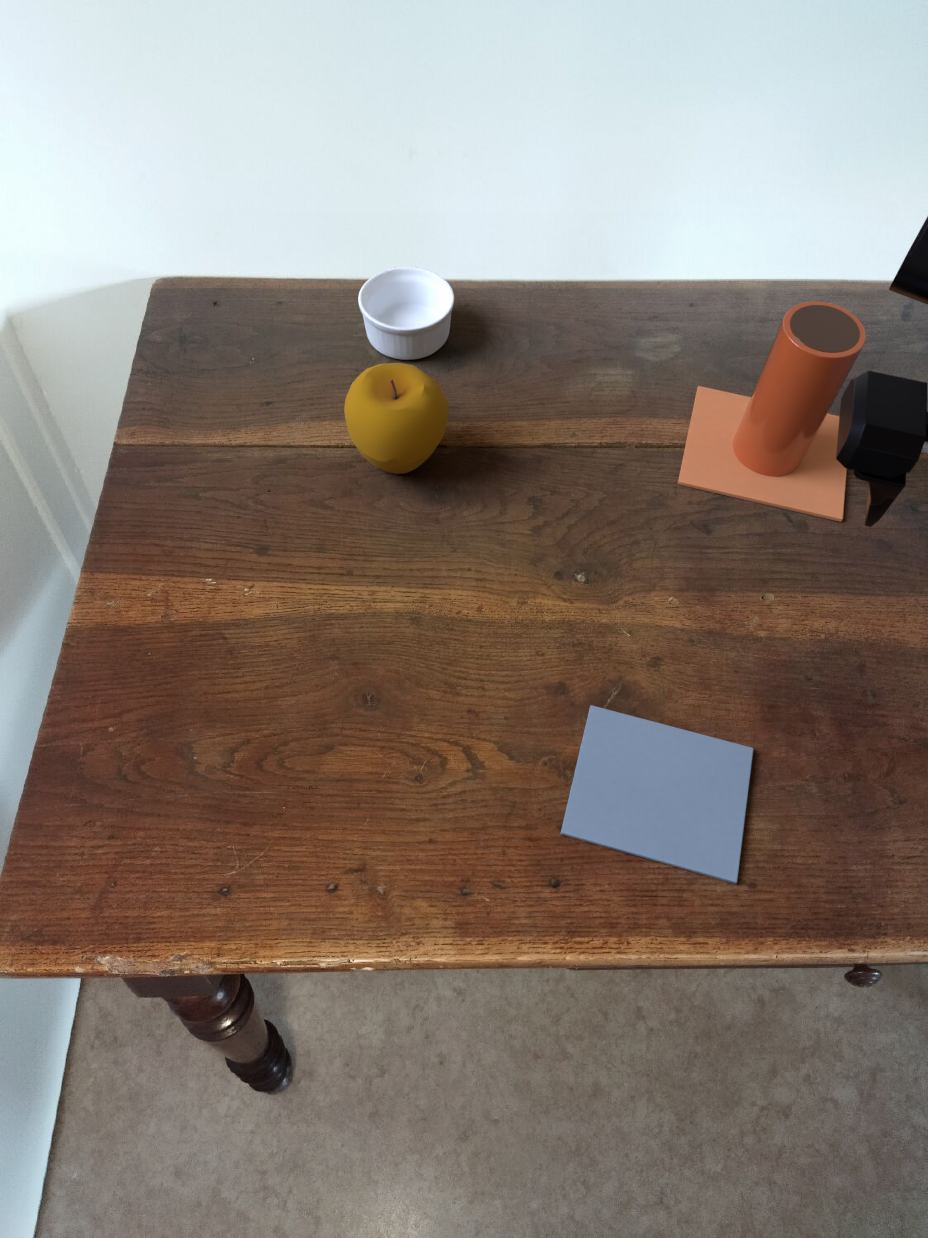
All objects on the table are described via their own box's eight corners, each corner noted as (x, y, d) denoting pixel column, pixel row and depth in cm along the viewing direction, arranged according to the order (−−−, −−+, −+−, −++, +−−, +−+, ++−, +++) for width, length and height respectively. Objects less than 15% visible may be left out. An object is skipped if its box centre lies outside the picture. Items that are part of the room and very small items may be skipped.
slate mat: (752, 750, 64) (753, 747, 64) (735, 884, 59) (737, 882, 59) (589, 707, 65) (590, 704, 65) (560, 834, 60) (560, 832, 60)
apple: (455, 427, 79) (457, 351, 72) (437, 501, 75) (437, 428, 67) (362, 413, 80) (354, 336, 72) (339, 485, 76) (328, 411, 68)
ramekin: (343, 330, 85) (338, 293, 82) (412, 290, 89) (411, 252, 85) (403, 379, 82) (401, 343, 78) (472, 336, 85) (474, 299, 82)
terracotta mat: (849, 421, 81) (850, 418, 80) (841, 522, 75) (843, 519, 74) (697, 388, 82) (698, 385, 82) (677, 484, 77) (678, 481, 76)
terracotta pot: (815, 469, 77) (881, 349, 66) (749, 482, 76) (805, 362, 65) (784, 418, 80) (842, 294, 69) (721, 430, 79) (769, 306, 68)
